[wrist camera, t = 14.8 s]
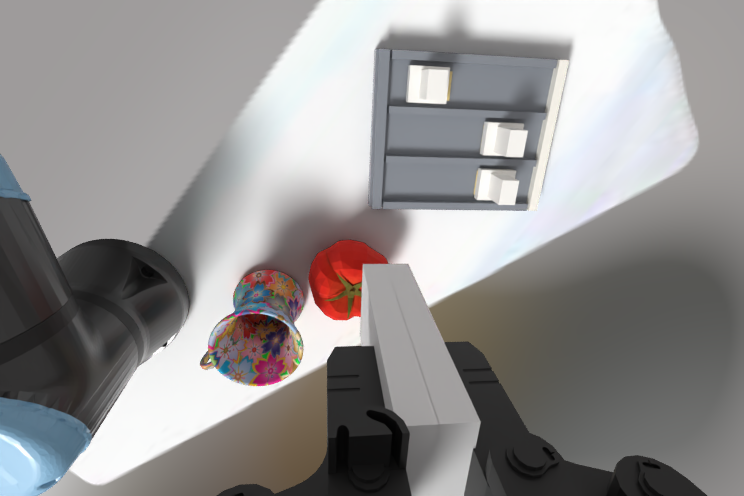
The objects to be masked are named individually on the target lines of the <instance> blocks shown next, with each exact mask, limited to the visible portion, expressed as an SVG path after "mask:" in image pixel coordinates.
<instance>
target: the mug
mask: <svg viewBox="0 0 744 496" xmlns="http://www.w3.org/2000/svg"><path fill="white" fill-rule="evenodd" d="M233 304H234V308H235V311H234V313H232V314H230V315H228V316H227V317H225V318H224V319H222V320H221V321H220V322H219V323H218V324H217V325H216V326H215V328H214V329H213V331H212V333H211V335H210V338H209V342H208V351H207V352H206V354H205V355H204V356H203V358H202V359H201V362H200V366H201V367H202V368H203V369H204V370H208V369H212V368H214V367H216V369H217V370H218V371H219V372H220V373H221V374H222V375H224V376H225V377H227V378H228V379H230V380H232V381H234V382H237V383H240V384H243V385H248V386H266V385H271V384H274V383H277V382H279V381H282V380H283V379H285V378H287V377H288V376H289V375H291V374H292V373H293V372H294V371H295V370H296V368H297V367H298V365H299V364H300V362H301V359H302V356H303V341H302V338H301V335H300V333H299V331H298V330H297V328H296V327H295V326H294V322H295V321H296V320H297V319H298V317H299V316H300V314H301V312H302V310H303V306H304V297H303V293H302V290H301V288H300V287H299V285H298V284H297V282H296V281H295V280H294V279H292V278H291V277H290V276H288V275H286V274H284V273H282V272H279V271H274V270H261V271H257V272H254V273H251V274H249V275H247V276H246V277H245V278H243V279H242V280H241V281H240V282H239V284H238V285H237V287H236V289H235V291H234V295H233ZM209 359H211V362H209V363H207V362H208V360H209ZM206 363H207V364H206Z"/></svg>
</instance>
